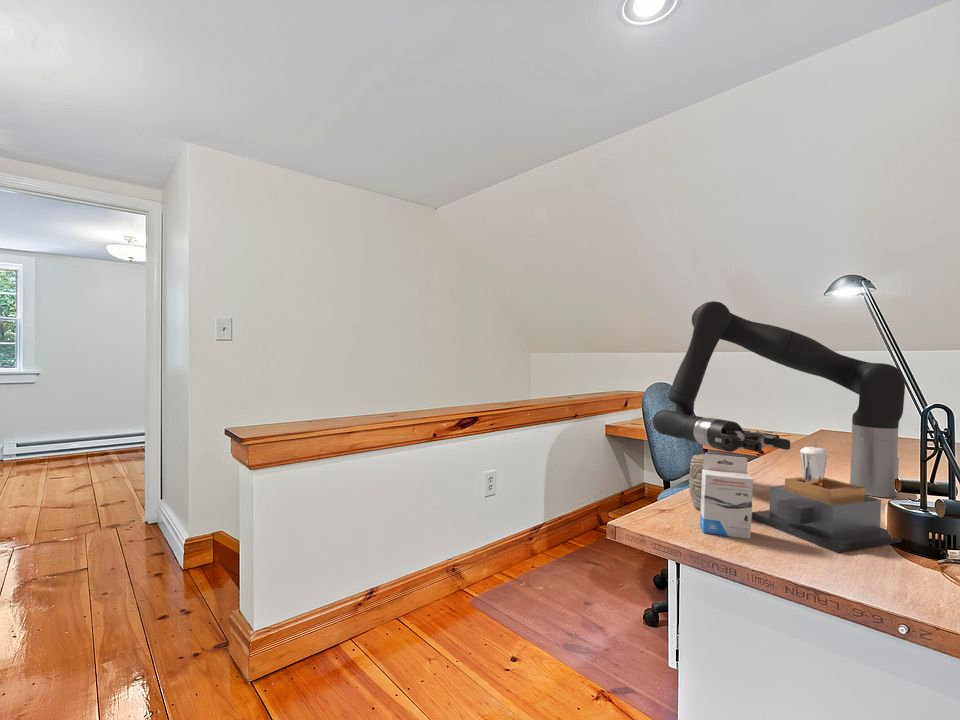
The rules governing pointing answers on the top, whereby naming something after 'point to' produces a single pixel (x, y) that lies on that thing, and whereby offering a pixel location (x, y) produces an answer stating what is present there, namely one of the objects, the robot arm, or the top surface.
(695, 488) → the carving
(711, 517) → the ink box
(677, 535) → the top surface
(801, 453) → the milkshake
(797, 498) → the stepped frame block
